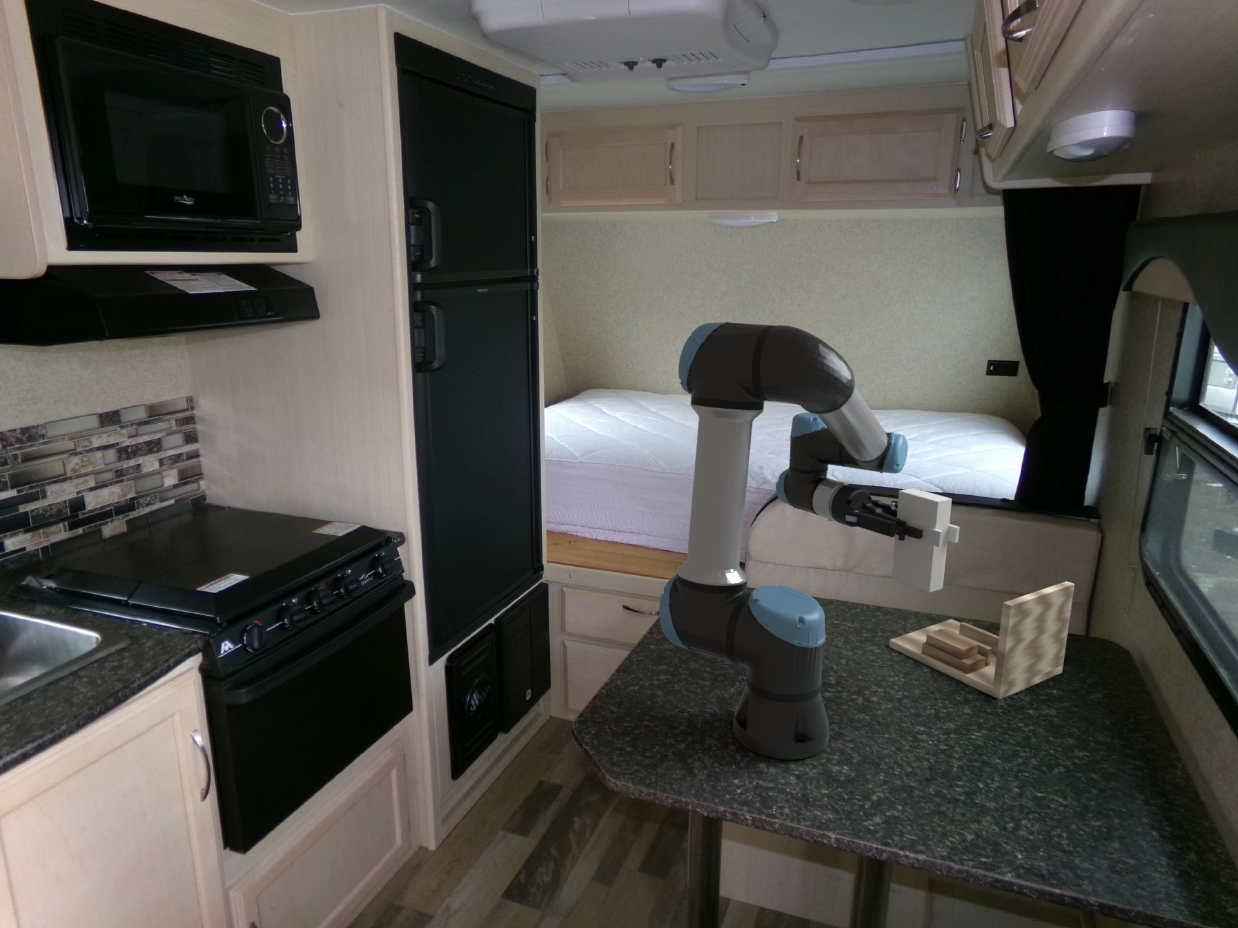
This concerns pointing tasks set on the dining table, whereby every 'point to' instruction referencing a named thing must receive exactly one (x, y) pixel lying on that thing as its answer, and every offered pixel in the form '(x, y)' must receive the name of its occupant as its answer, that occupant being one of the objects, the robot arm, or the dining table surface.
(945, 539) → the white block
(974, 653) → the walnut offcuts
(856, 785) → the dining table surface
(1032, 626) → the maple rack
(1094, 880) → the dining table surface
